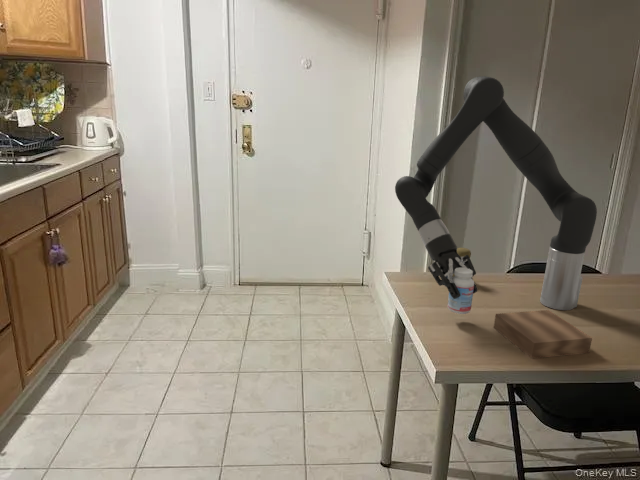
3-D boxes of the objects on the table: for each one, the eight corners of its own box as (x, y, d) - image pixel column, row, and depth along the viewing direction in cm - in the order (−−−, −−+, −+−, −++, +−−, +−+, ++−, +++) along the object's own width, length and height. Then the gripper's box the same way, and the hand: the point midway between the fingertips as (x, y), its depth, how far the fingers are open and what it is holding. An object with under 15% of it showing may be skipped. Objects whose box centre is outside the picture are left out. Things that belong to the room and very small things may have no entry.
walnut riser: (545, 323, 138) (548, 309, 137) (589, 352, 123) (592, 337, 122) (493, 327, 134) (495, 313, 133) (531, 358, 119) (534, 343, 118)
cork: (469, 284, 163) (473, 252, 160) (449, 282, 164) (454, 250, 161) (467, 278, 169) (472, 246, 166) (449, 276, 170) (453, 245, 167)
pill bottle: (463, 316, 132) (468, 276, 129) (442, 309, 136) (447, 270, 133) (474, 310, 136) (480, 270, 133) (454, 303, 140) (458, 264, 137)
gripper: (426, 236, 132) (456, 294, 126) (463, 229, 140) (493, 283, 134) (410, 250, 138) (438, 306, 132) (447, 242, 146) (475, 295, 140)
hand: (466, 294), depth 133 cm, fingers closed on pill bottle, 6 cm apart
